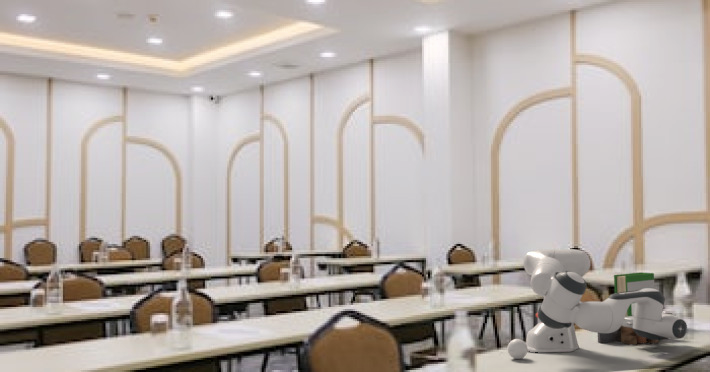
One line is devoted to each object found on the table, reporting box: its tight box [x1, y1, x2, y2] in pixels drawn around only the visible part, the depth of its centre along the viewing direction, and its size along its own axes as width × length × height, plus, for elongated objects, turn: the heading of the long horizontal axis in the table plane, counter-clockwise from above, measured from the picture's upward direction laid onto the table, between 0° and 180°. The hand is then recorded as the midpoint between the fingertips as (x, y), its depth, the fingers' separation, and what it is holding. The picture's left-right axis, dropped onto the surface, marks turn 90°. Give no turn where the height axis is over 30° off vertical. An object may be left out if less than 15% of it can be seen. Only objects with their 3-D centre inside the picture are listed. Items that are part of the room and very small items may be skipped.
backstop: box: [597, 316, 669, 344], centre depth 298 cm, size 30×2×10 cm, turn 99°
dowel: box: [636, 334, 647, 344], centre depth 292 cm, size 4×4×14 cm
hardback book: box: [613, 271, 655, 316], centre depth 333 cm, size 18×7×24 cm, turn 118°
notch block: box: [620, 325, 659, 346], centre depth 294 cm, size 12×7×8 cm, turn 99°
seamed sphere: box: [502, 338, 529, 360], centre depth 270 cm, size 10×7×7 cm
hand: (637, 318), depth 295 cm, fingers open, 6 cm apart
